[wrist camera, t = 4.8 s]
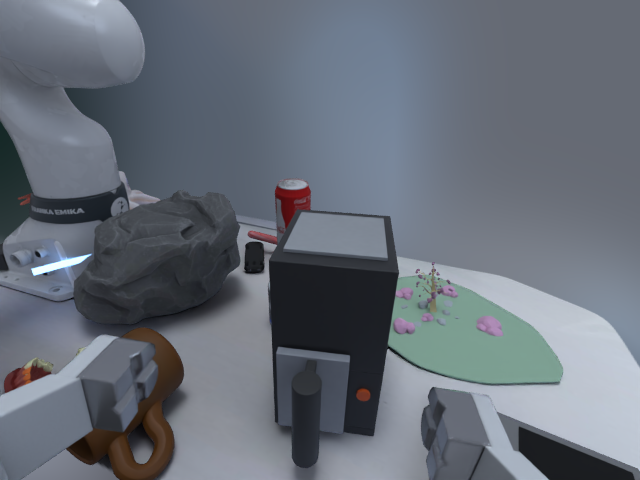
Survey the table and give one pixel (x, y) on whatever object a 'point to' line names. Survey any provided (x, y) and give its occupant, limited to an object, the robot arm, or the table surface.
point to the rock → (159, 259)
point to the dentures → (28, 373)
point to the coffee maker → (337, 299)
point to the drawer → (311, 398)
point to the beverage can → (290, 202)
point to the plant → (466, 335)
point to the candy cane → (262, 237)
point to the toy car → (254, 257)
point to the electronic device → (563, 455)
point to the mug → (139, 420)
